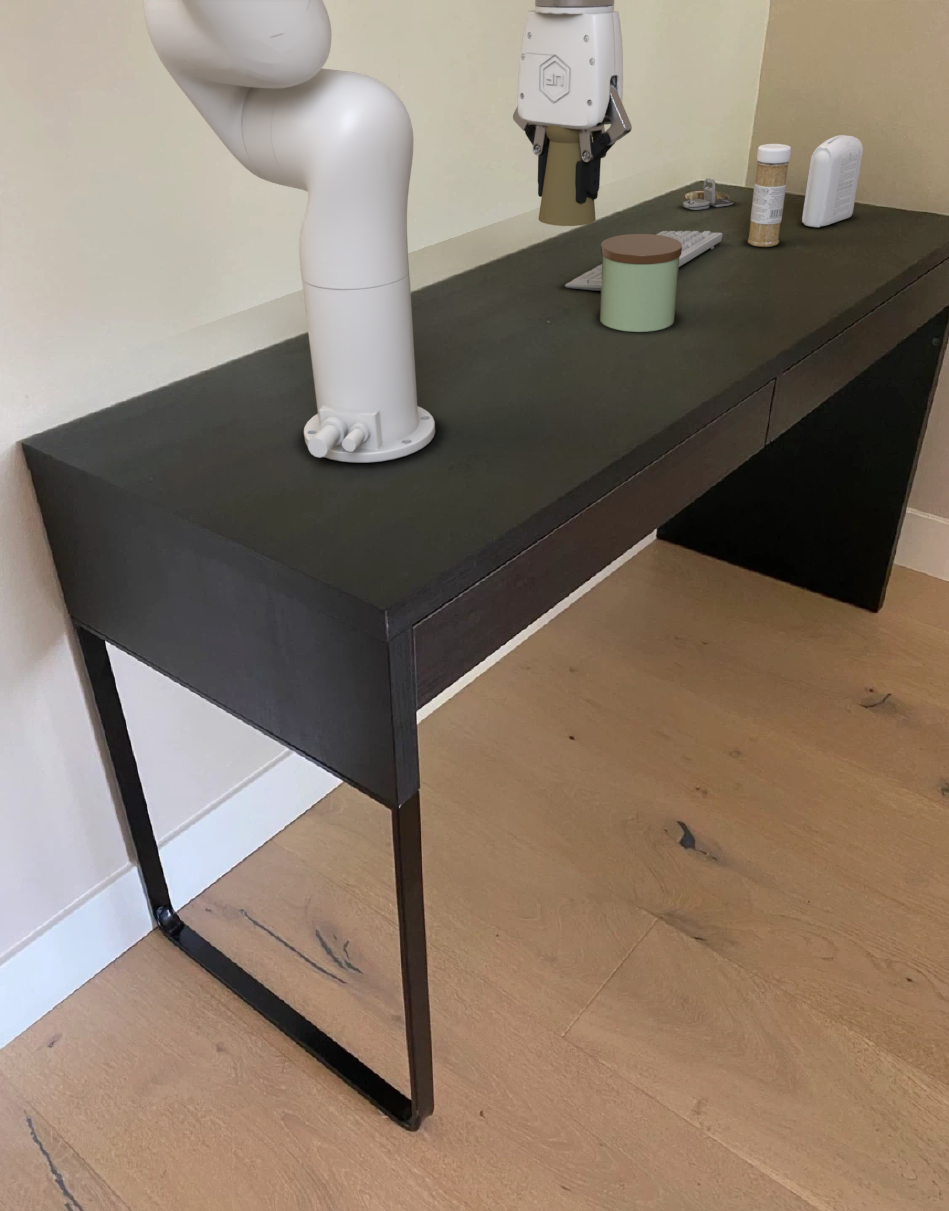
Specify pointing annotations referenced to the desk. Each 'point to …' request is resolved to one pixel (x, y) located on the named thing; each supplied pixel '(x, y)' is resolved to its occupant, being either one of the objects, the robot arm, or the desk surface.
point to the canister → (639, 282)
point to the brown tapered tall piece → (563, 181)
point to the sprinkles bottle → (769, 194)
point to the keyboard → (690, 240)
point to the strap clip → (707, 198)
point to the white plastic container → (832, 181)
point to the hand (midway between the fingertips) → (567, 195)
